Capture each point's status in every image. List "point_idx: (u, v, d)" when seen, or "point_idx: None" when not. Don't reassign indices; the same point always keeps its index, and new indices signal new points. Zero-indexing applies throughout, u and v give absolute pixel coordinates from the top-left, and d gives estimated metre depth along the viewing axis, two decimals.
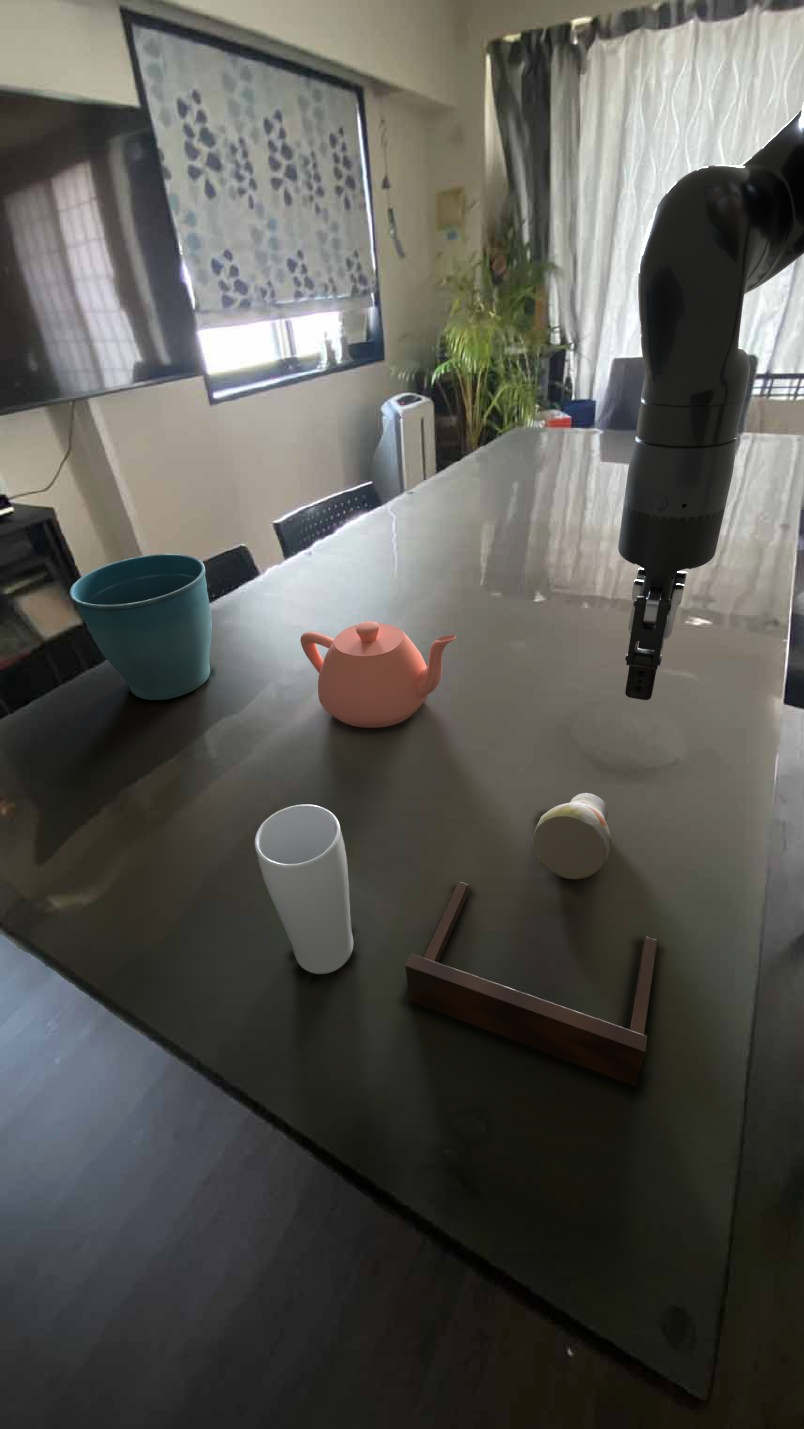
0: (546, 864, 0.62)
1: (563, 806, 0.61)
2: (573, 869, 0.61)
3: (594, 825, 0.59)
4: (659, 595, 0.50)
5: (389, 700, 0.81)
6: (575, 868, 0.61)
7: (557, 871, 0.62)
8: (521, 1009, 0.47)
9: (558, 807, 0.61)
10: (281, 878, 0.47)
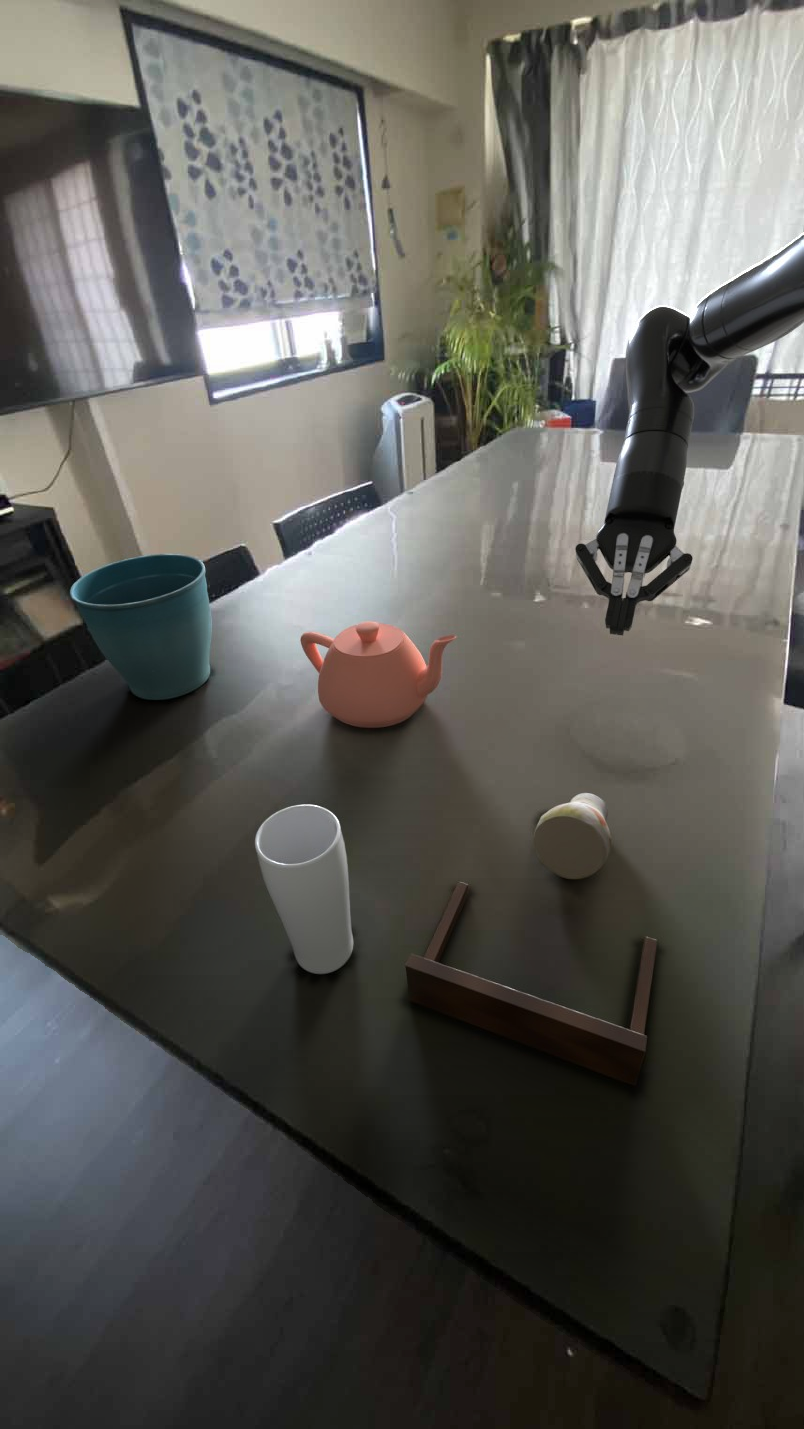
0: (546, 864, 0.62)
1: (563, 806, 0.61)
2: (573, 869, 0.61)
3: (594, 825, 0.59)
4: (588, 543, 0.73)
5: (389, 700, 0.81)
6: (575, 868, 0.61)
7: (557, 871, 0.62)
8: (521, 1009, 0.47)
9: (558, 807, 0.61)
10: (281, 878, 0.47)
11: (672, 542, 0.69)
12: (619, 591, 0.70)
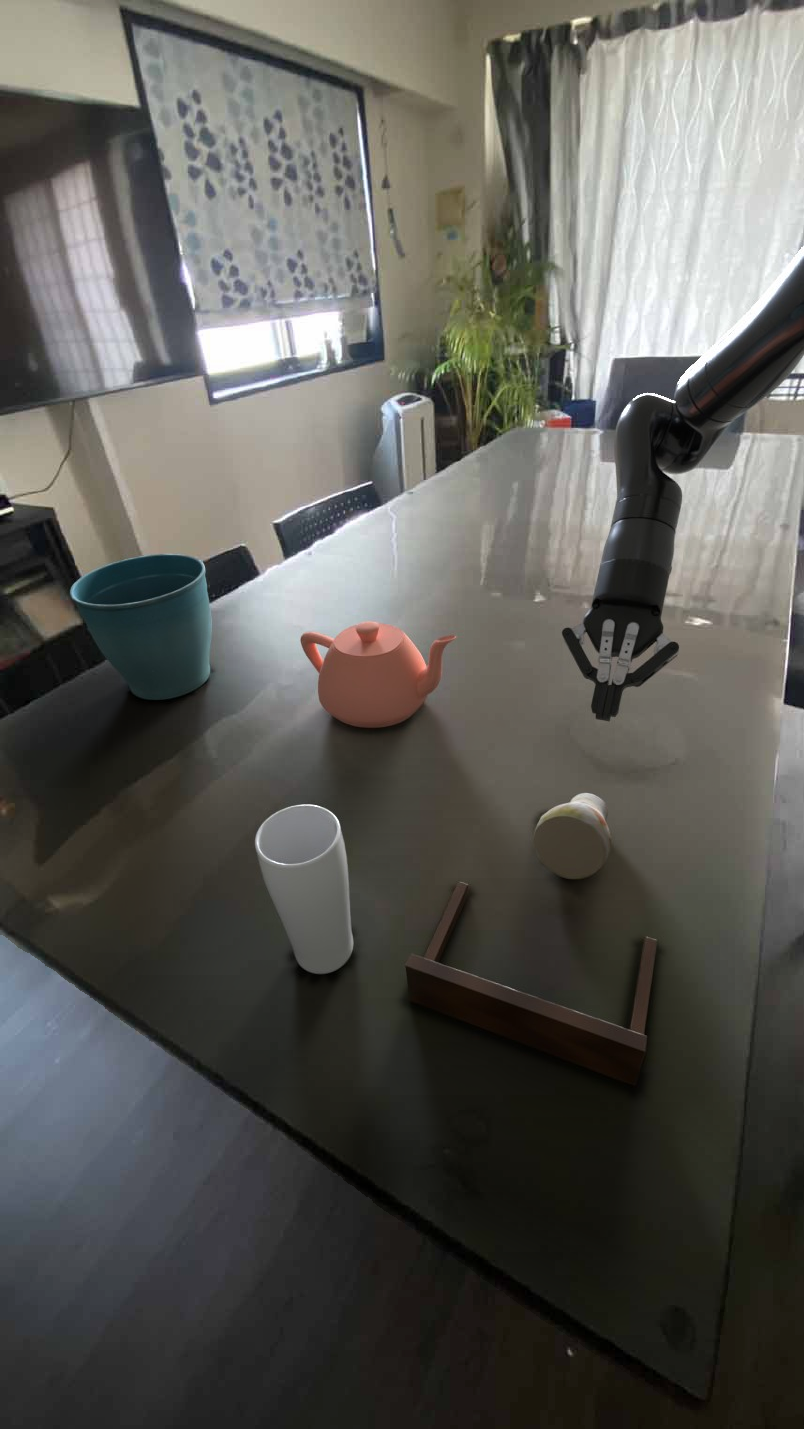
0: (546, 864, 0.62)
1: (563, 806, 0.61)
2: (573, 869, 0.61)
3: (594, 825, 0.59)
4: (575, 627, 0.72)
5: (389, 700, 0.81)
6: (575, 868, 0.61)
7: (557, 871, 0.62)
8: (521, 1009, 0.47)
9: (558, 807, 0.61)
10: (281, 878, 0.47)
11: (659, 629, 0.69)
12: (605, 678, 0.69)
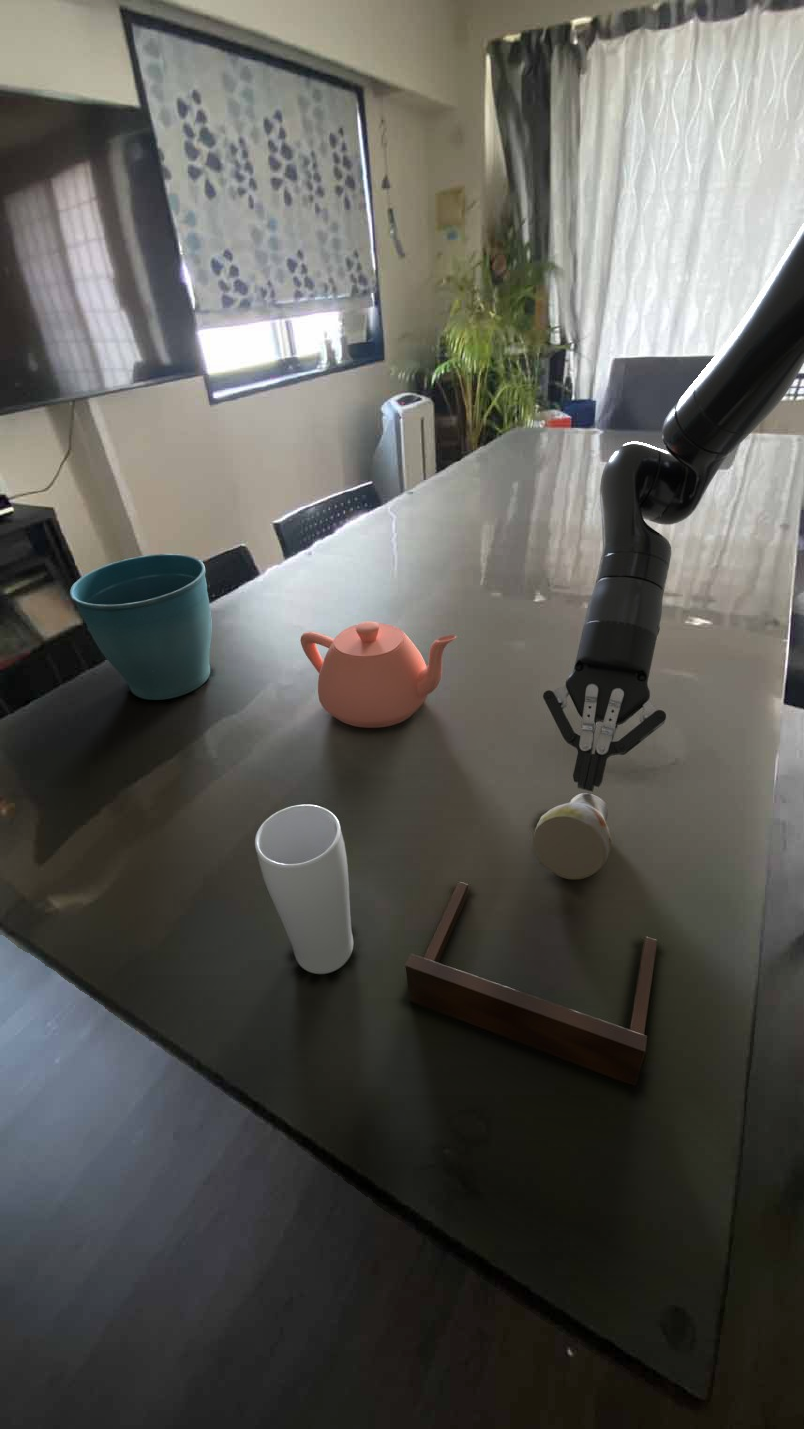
0: (546, 864, 0.62)
1: (563, 806, 0.61)
2: (573, 869, 0.61)
3: (594, 825, 0.59)
4: (557, 689, 0.68)
5: (389, 700, 0.81)
6: (575, 868, 0.61)
7: (557, 871, 0.62)
8: (521, 1009, 0.47)
9: (558, 807, 0.61)
10: (281, 878, 0.47)
11: (645, 696, 0.65)
12: (588, 746, 0.65)
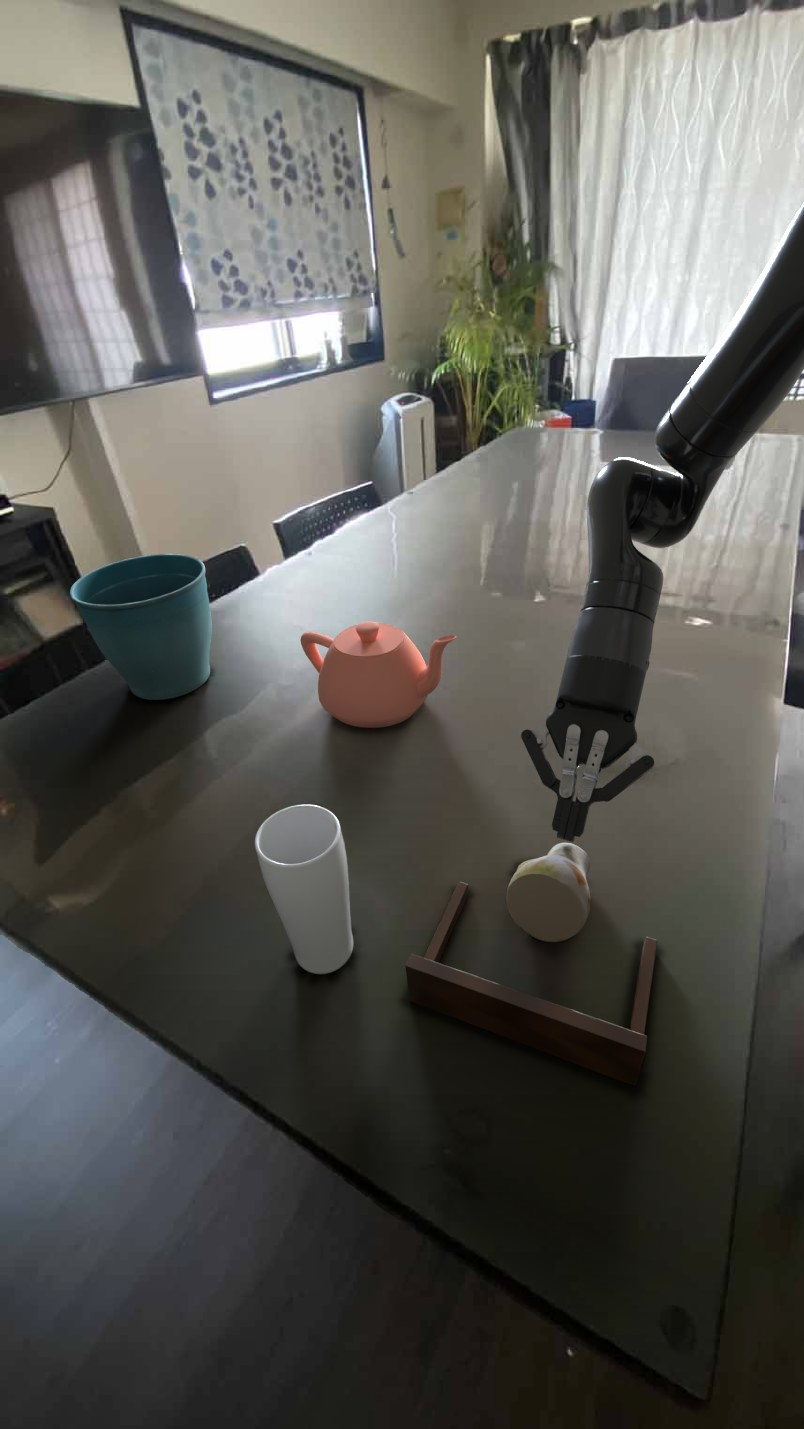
0: (520, 924, 0.57)
1: (538, 861, 0.56)
2: (549, 931, 0.55)
3: (572, 885, 0.53)
4: None
5: (389, 700, 0.81)
6: (551, 930, 0.55)
7: (532, 932, 0.56)
8: (521, 1009, 0.47)
9: (533, 862, 0.56)
10: (281, 878, 0.47)
11: (631, 739, 0.59)
12: (568, 793, 0.60)
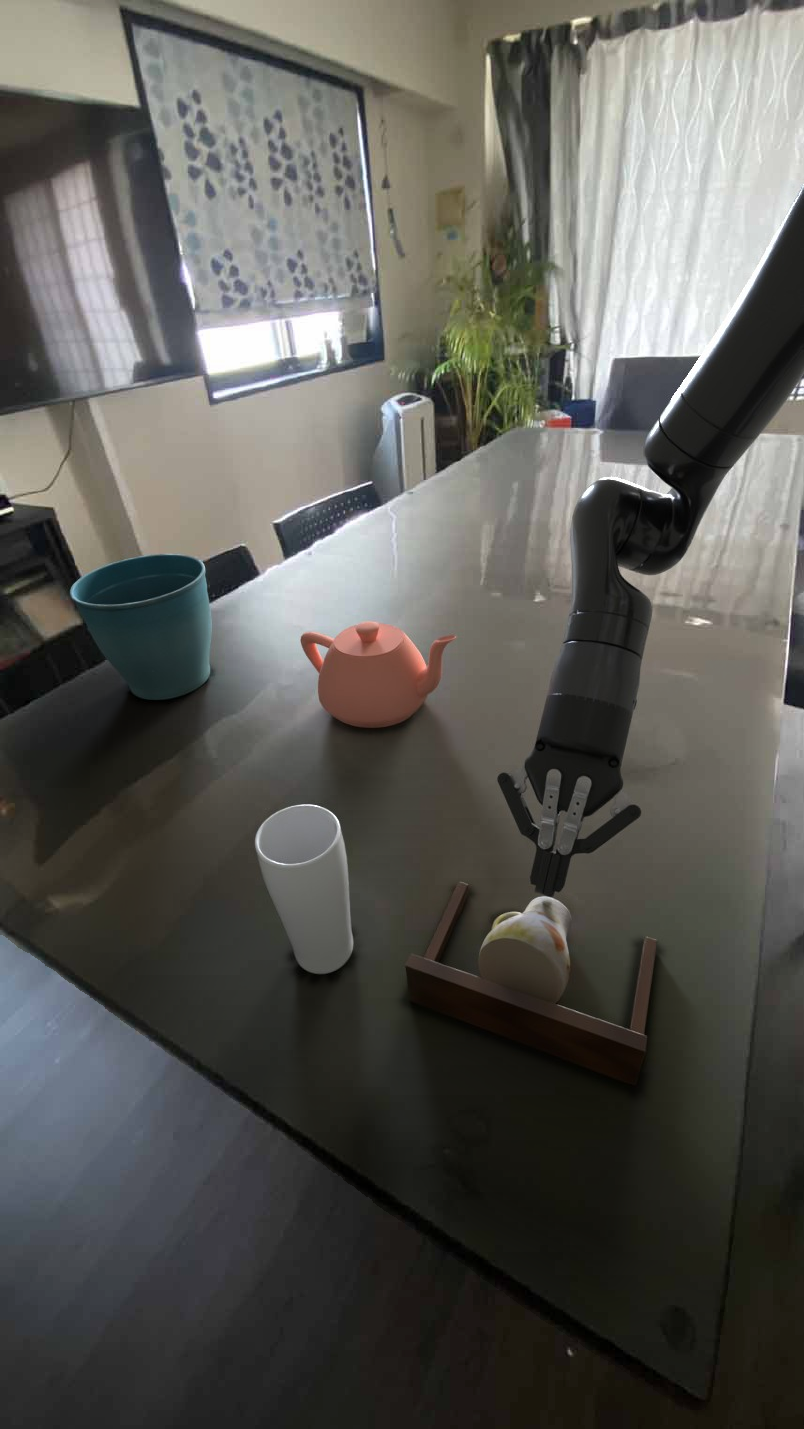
0: None
1: (513, 923, 0.51)
2: None
3: (548, 952, 0.49)
4: (514, 770, 0.58)
5: (389, 700, 0.81)
6: None
7: None
8: (521, 1009, 0.47)
9: (507, 923, 0.51)
10: (281, 878, 0.47)
11: (616, 786, 0.54)
12: (548, 844, 0.55)
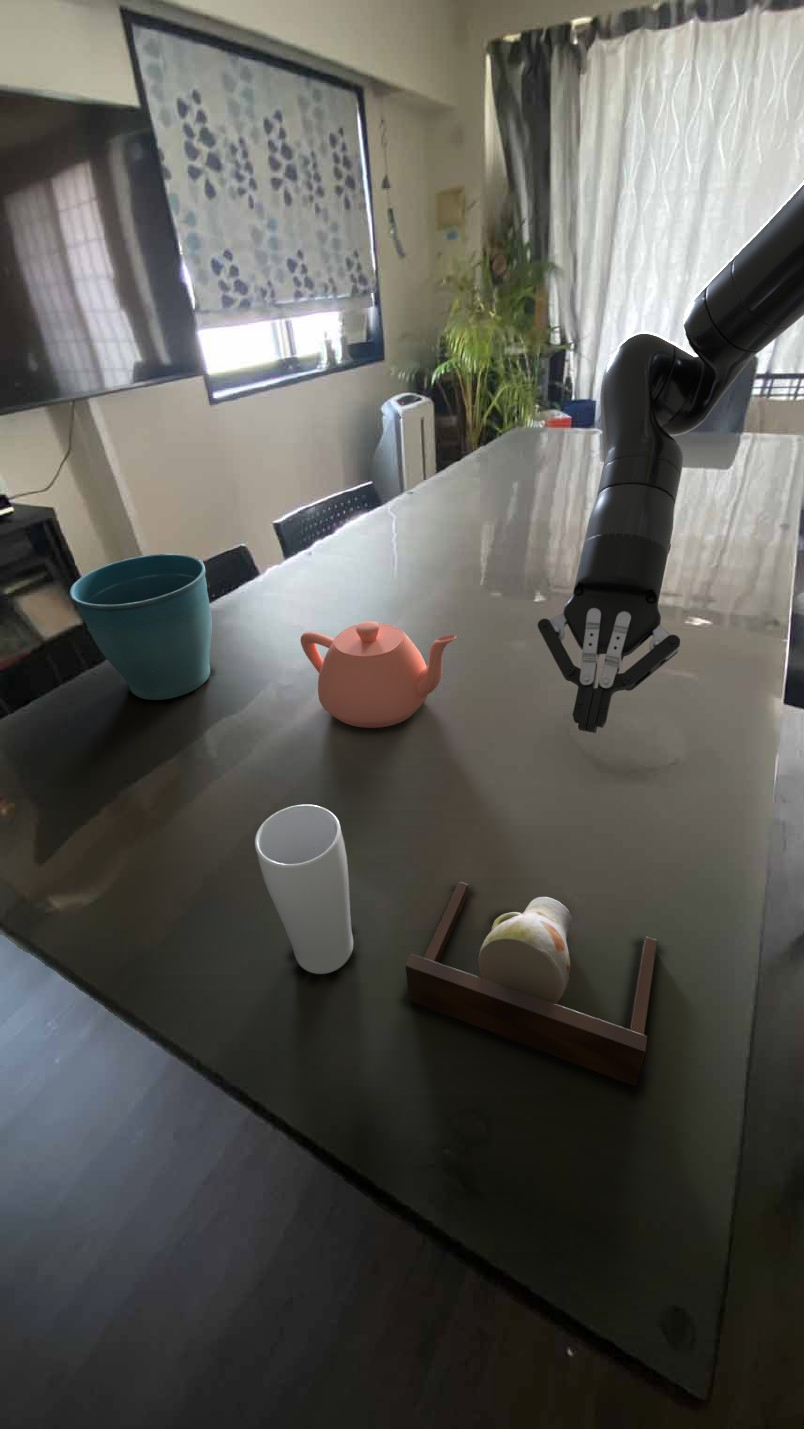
0: None
1: (513, 923, 0.51)
2: None
3: (548, 953, 0.48)
4: (553, 618, 0.60)
5: (389, 700, 0.81)
6: None
7: None
8: (521, 1009, 0.47)
9: (507, 924, 0.51)
10: (281, 878, 0.47)
11: (655, 620, 0.56)
12: (590, 679, 0.57)
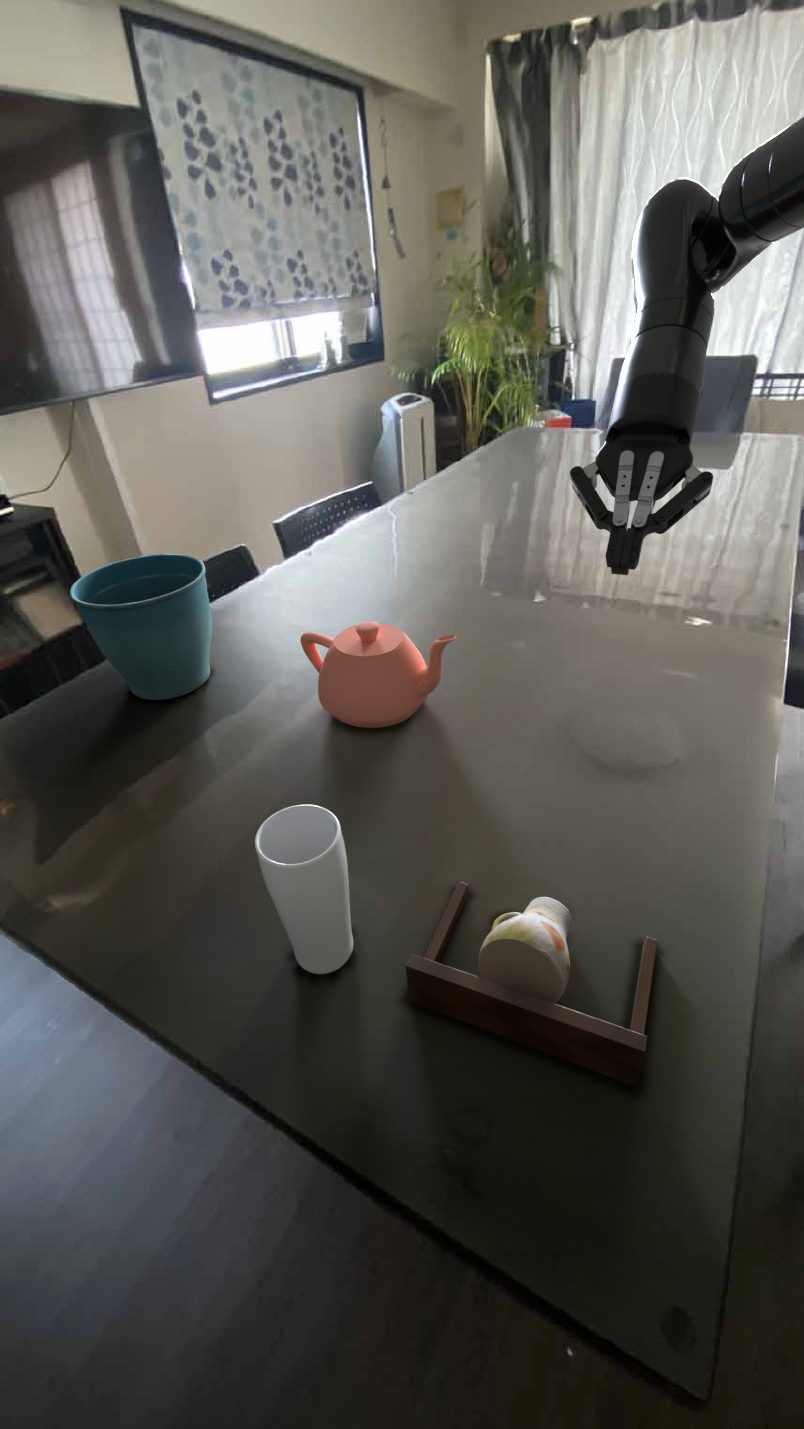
0: None
1: (513, 923, 0.51)
2: None
3: (548, 953, 0.48)
4: (585, 467, 0.60)
5: (389, 700, 0.81)
6: None
7: None
8: (521, 1009, 0.47)
9: (507, 924, 0.51)
10: (281, 878, 0.47)
11: (688, 459, 0.57)
12: (623, 520, 0.57)
